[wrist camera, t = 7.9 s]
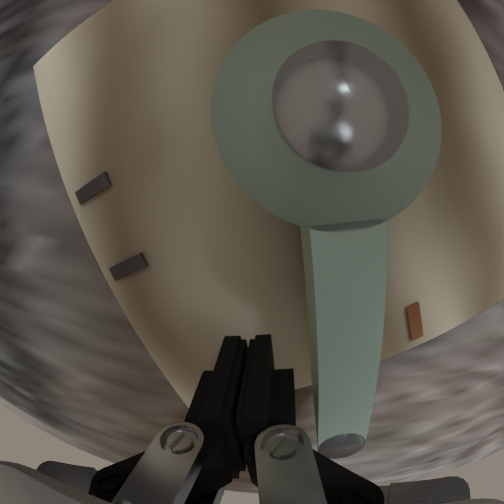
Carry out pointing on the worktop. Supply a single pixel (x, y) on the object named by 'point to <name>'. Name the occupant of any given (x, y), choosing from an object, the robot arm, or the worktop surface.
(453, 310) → the lock base
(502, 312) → the worktop surface
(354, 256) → the lock lever
